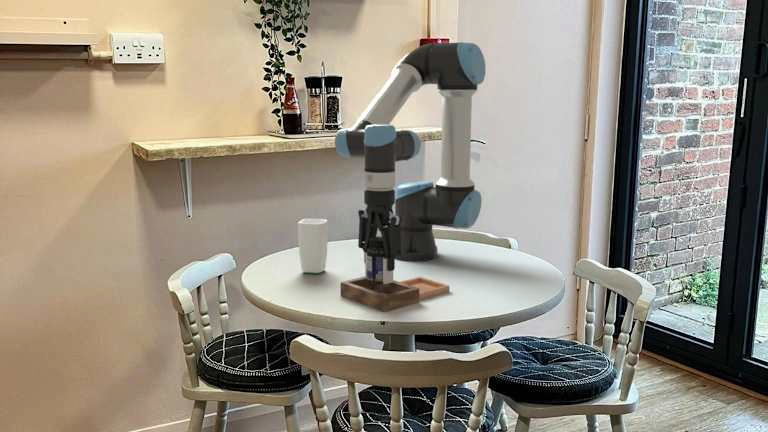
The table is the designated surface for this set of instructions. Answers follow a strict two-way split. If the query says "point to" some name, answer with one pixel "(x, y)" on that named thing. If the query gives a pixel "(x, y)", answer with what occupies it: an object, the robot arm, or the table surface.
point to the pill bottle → (375, 260)
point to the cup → (313, 244)
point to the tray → (427, 287)
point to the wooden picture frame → (395, 299)
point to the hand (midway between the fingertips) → (379, 279)
